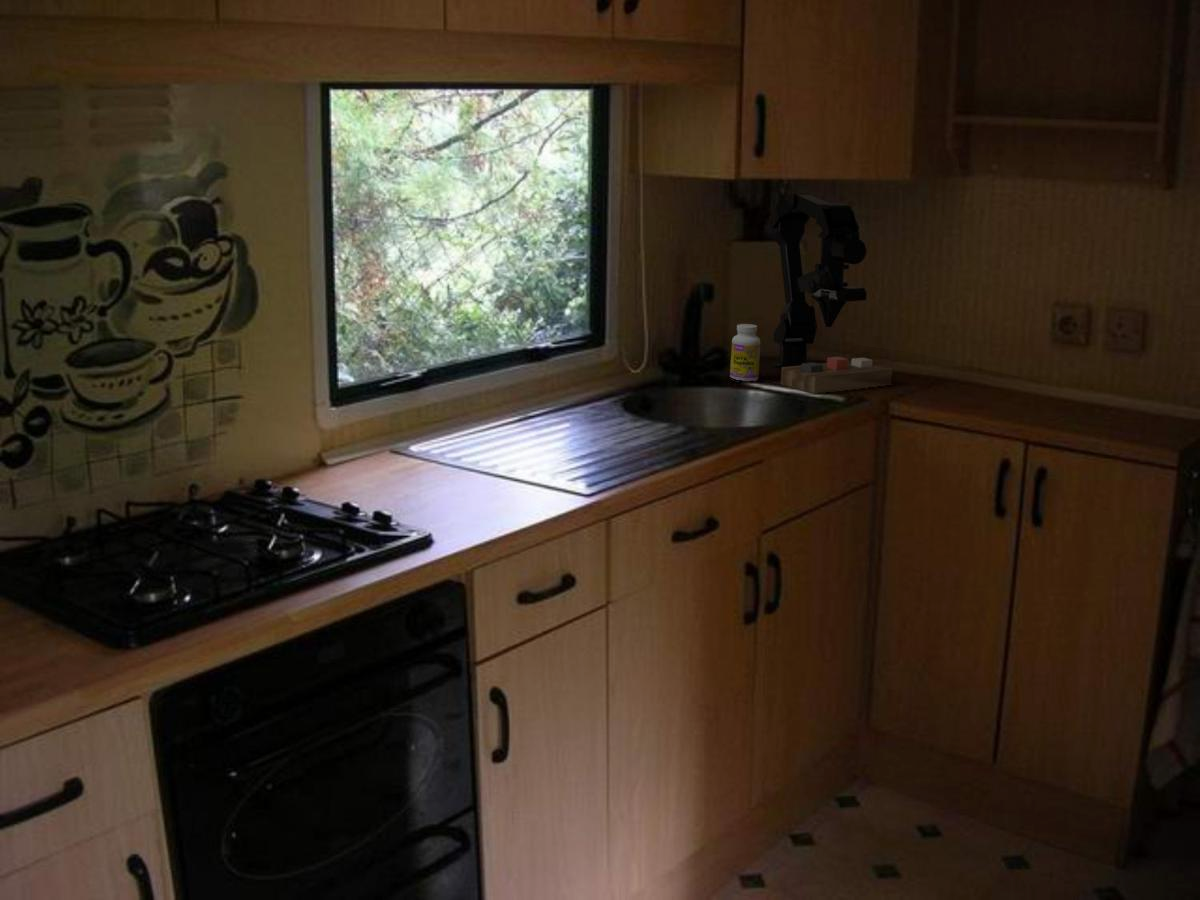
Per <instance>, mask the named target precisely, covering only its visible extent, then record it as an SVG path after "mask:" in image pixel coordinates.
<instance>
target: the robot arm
mask: <svg viewBox="0 0 1200 900" xmlns="http://www.w3.org/2000/svg"><path fill="white" fill-rule="evenodd" d="M811 218H812V219H815V224H816V225H817V226H818V227H819V228H820V229H821V232H819V233H818V238H820V239H821V241H820V255H819V256H820V258H819V262H816V263H815V265H814V270H812V271H810V272H808V273H806V274H804V273H803V264H802V254H801V246H800V245H801V244H800V243H801V240H802V239H803V236H804V234H805V231H806V230H805V229H806V228H805V227H806V224H807V223H808V222H809V220H810V219H811ZM768 226H769V227H770V234H771V237H772V239H773V240H774V241H775V242H776V244H777V245H778V247H779V252H780V253H779V255H780V261H781V262H780V263H781V272H782V282H783V291H784V301H785V305H784V307H783V310H782V311H781V314H780V316H779V317H780V319H779V320H780V322H779V324H778V325H777V327H776V329H775V331H774V332H773V341H774V343H776V344H779V348H780V349H779V363H774V367H776V368H781V369H782V367H791V366H801V365H802V363H807V358H808V357H807V355H808V351H807V348H808V347H807V345H808V344H809V345H812V344H814V342H815V337H816V333H817V329H818V324H817V318H816V309H815V307H814V305H810V304H809V303H808V302H807V300H806V293H808V295H810V294H813V295H811V298H812V299H814V300H815V302H817V303H818V305H819V308H820V310H821V315H822V317H823V318H822V319H823V322H824V325H825V327H826V328H831V327H833V324H834V323H835V321H836V319H837V317H838V315H839V314H840V313H841V311H842V309H843V308H844V306H845V305H846V303H847V302H858V301H860V302H861V301H867V298H868V297H867V296H868V292H867V290H866V287H861V286H856V285H849V284H848V282H847V281H845V272H846V270H848V269H850V265H858V264H860V263H861V262H863V261H864V259H865V258H866V256H867V248H866V245H865V243H864V241H863V240H861V239H860V231H859V230H860V227H859V224H858V222H857V219H856V215H855V212H854V211H853V208H852V206H851V205H850V204H848V203H830V202H828V201H825V200H823V199H820V198H819V197H816V196H814V195H812V194H811V193H809V192H792V193H790V194H789V195H788V196H787V198H785V200H782V201H781V202H780V203H778V204H776V205H775V206H774V208H773V210H771V212H770V213H769V216H768Z"/></svg>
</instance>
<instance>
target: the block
mask: <svg viewBox="0 0 1200 900" xmlns="http://www.w3.org/2000/svg"><path fill="white" fill-rule="evenodd" d="M851 363H852V359H851V360H848V369H844V370H833V369H829V368H827V362H822V363H820V364H821V365H823V372H815V373H809V372H805V371H802V370H801V368H802V365H801V366H791V367H782V368H781V371H780V372H781V373H780V374H781V376H780V385H781V384H782V386H784V385H785V387H788V388H791V389H795V390H798V389H799V391H801V390H802V392H805V391H806V392H805V393H808V392H809V393H808V394H812V393H813V394H812V395H818V394H817V393H821V394H827V393H826V392H830V393H836V392H837V391H839V392H846V391H845V390H848V391H854V390H853V389H856V390H860V389H859V388H865V389H869V388H868V387H874V388H877V387H876V386H883V387H886V386H885V385H891V386H892V378H893V368H891V367H888V366H883V365H880V364H877V363H876V364H875V363H872V367H864V368H860V367H856V366H852V365H851ZM837 393H838V392H837Z"/></svg>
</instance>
